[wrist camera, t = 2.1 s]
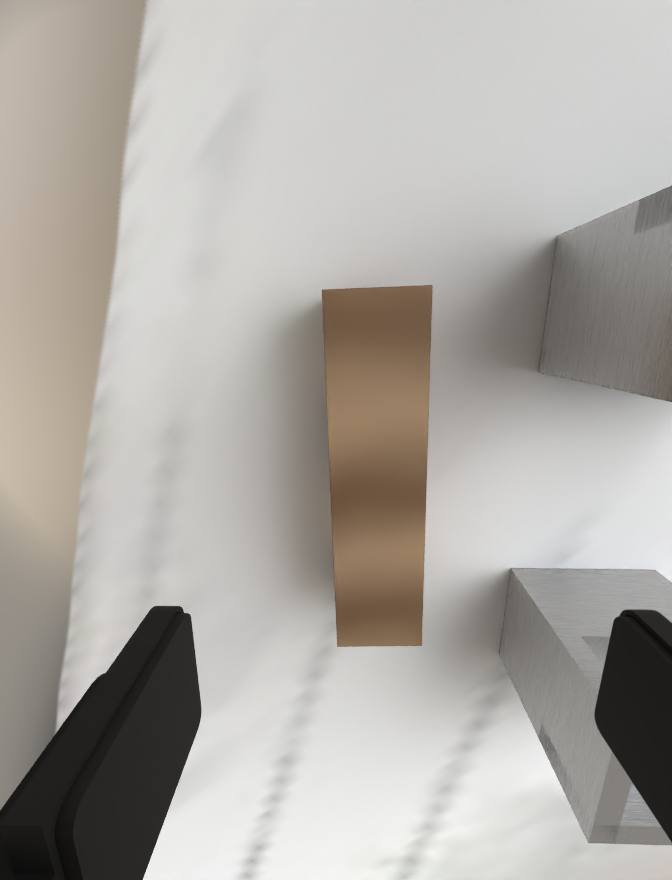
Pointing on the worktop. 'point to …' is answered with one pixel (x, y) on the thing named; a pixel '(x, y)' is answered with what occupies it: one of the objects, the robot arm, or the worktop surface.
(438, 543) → the worktop surface
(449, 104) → the worktop surface
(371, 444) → the walnut rail
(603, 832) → the brackets
